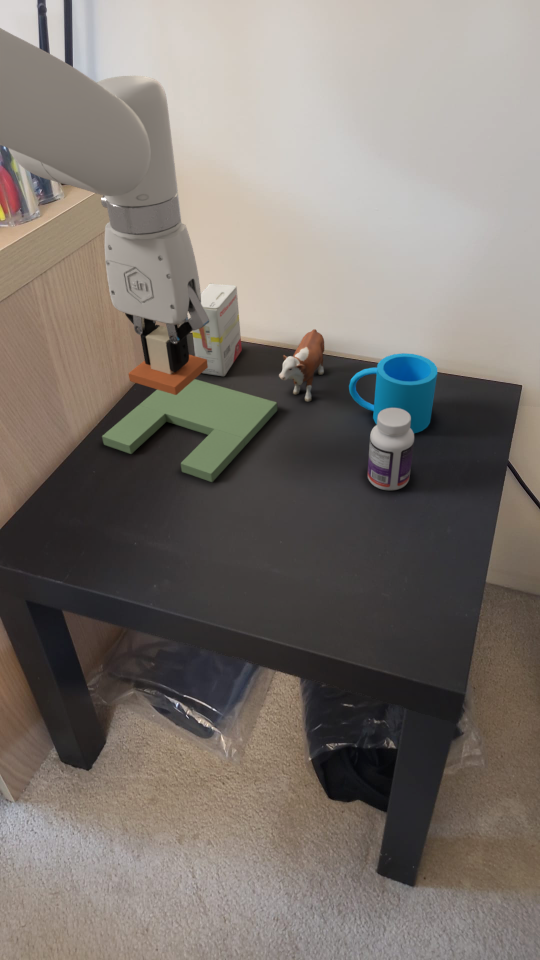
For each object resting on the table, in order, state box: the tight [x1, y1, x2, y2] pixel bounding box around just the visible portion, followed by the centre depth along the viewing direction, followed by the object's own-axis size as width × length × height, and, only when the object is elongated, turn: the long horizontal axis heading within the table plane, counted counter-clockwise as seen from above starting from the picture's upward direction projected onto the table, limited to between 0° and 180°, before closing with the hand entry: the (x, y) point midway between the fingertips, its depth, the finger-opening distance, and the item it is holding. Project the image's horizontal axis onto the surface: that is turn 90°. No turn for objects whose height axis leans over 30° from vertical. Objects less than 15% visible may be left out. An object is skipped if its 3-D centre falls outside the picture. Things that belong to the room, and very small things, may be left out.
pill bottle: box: [367, 408, 415, 491], centre depth 85 cm, size 5×5×10 cm
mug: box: [348, 352, 438, 435], centre depth 96 cm, size 12×8×8 cm
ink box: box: [189, 282, 243, 377], centre depth 108 cm, size 9×5×12 cm, turn 161°
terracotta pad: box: [128, 325, 208, 395], centre depth 84 cm, size 7×7×6 cm
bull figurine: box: [278, 328, 326, 402], centre depth 102 cm, size 4×13×8 cm, turn 158°
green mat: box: [101, 378, 278, 483], centre depth 98 cm, size 18×18×2 cm
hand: (167, 361), depth 84 cm, fingers closed on terracotta pad, 3 cm apart
